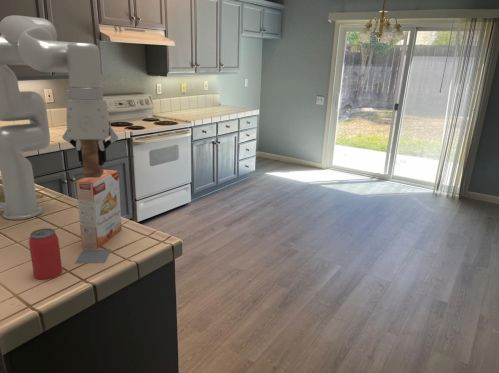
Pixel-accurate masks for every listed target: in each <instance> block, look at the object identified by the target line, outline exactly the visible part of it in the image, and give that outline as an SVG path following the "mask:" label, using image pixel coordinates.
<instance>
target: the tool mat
mask: <svg viewBox="0 0 499 373" xmlns="http://www.w3.org/2000/svg"><path fill="white" fill-rule="evenodd" d="M111 251H112V249H110V248H109V249H107V248H105V249H104V248H103V249H82V251H81V252H80V255H79V256H78V257H77V259H76V260H75V262H74V265H76V264H77V265H79V264H81V265H82V264H105V263H106V262H107V259H108V257H109V255H110V253H111Z"/></svg>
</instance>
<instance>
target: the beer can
mask: <svg viewBox="0 0 499 373" xmlns="http://www.w3.org/2000/svg"><path fill="white" fill-rule="evenodd" d="M28 247H29V252H30V260H31V265H32V271H33V272H32V273H33V276H34V278H35V279H37V280H40V281H41V280H42V281H44V280H45V281H46V280H51V279H54V278H56V277H58V276H60V275H61V274H62V272H63V266H62V258H61V249H60V243H59V237H58V235H57V234H56V230H55V229H53V228H46V227H45V228H40V229H36V230H33V231H32V232H31V233H30V234H29V240H28Z"/></svg>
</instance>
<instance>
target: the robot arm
mask: <svg viewBox="0 0 499 373" xmlns="http://www.w3.org/2000/svg"><path fill="white" fill-rule="evenodd" d="M0 34H1V35H0V122H19V121H28V120H29V123H22V124H21V123H19V124H8V125H1V126H0V175H1V177H0V178H1V182H2V189H3V194H4V200H5V201H4V202H0V210H3V211H2V217H3V218H4V219H6V220H11V221H12V220H14V221H17V220H19V221H20V220H25V219H32V218H34V217H37V216H39V215H41V214H42V213H43V212H44V208H43V206H41V205H40V204H38V198H37V190H36V187H35V186H36V185H35V179H34V178H35V177H34V173H33V172H34V171H33V170H34V169H33V166H32V163H31V161H30V160H29V159H28V158H26V157H25V156H24V155H23V153H28V152H33V151H41V150H44V149H47V148H48V147H49V146H50V142H51V135H50V134H51V133H50V126H49V120H48V119H49V118H48V111H47V105H46V103H45V100H44V98H43V97H42V95H41V94H40V93H39V92H36V91H31V90H29V91H25V90H24V91H21V90H20V88H19V81H18V80H19V79H18V77H17V76H16V74H15V72H14V71H13V70H12V69H11V68H10V67H9V66H8V65H13V66H28V67H30V68H32V69H33V70H35V71H38V72H42V73H67V74H68V82H69V83H68V84H69V88H65V89H64V95H66V96H67V95H68V96H69V97H70V99H67V102H66V130H65V131H64V134H63V135H62V139H63V140H65V142H67V143H70V145H72V147H73V148H74V149H76V150H77V155H78V162H80V166H83V161H82V151H81V141H80V140H97V141H98V144H99V151H98V155H99V165H100V166H102V165H103V166H104V164H105V163H106V162H107V151H106V149H107V148H108V147H109V146H110V145H111V144H113V143H114V142H116V141H117V140H118V139H119V136H118V135H117V133H116V132H115V131H114V129H113V128H112V125H111V118H110V112H109V108H108V104H107V101H106V99H104V95H103V82H102V70H101V68H102V67H101V59H100V58H101V56H100V54H101V53H100V48H99V47H98V46H97V45H96V44H94V43H90V42H74V41H72V42H70V41H60V40H58V34H57V29H56V27H55V25H54V24H53V23H52V22H51V21H50V20H48V19H46V18H43V17H36V16H35V17H33V16H27V15H26V16H25V15H16V14H15V15H13V14H12V15H8V16H6V17H4V18H3V19H2V20H1V21H0ZM109 137H110V138H109ZM108 138H109V139H108ZM106 139H107V140H106Z"/></svg>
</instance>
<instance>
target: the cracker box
mask: <svg viewBox="0 0 499 373" xmlns="http://www.w3.org/2000/svg"><path fill="white" fill-rule="evenodd" d="M103 172H104V174H103V175H102V176H101V177H100V178H86V177H82V178H80V179H78V180H76V181H75V184H76V194H77V206H78V214H79V215H78V216H79V217H78V218H79V228H80V238H81V246H82V247H89V248H96V249H99V248H100V247H101V246H103V245H104V244H105V243H107V242H108V241H109V240H111V239H112V238H113V237H114V236H115V235H117V234H118V233H120V231H122V229H123V228H122V213H121V212H122V210H121V193H120V192H121V190H120V176H119V175H120V174H119V171H118V170H111V169H103Z"/></svg>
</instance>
